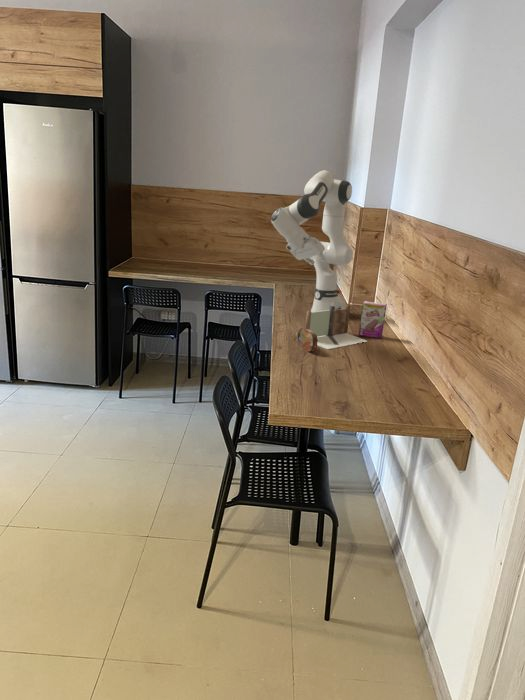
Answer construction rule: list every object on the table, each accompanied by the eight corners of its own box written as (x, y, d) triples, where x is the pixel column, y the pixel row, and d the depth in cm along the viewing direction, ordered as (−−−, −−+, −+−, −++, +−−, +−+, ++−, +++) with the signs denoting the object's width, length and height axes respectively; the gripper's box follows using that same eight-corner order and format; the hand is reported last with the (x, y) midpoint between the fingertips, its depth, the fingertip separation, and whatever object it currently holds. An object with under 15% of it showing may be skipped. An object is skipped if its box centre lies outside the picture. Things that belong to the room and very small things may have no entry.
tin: (296, 343, 239) (298, 325, 236) (302, 343, 240) (304, 325, 237) (311, 354, 225) (312, 335, 223) (317, 354, 227) (319, 335, 224)
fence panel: (325, 333, 253) (328, 308, 249) (328, 335, 251) (331, 309, 247) (303, 337, 244) (306, 311, 241) (306, 338, 243) (308, 312, 239)
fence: (344, 331, 261) (347, 303, 256) (348, 332, 259) (351, 304, 254) (325, 334, 253) (328, 306, 249) (329, 336, 251) (332, 307, 247)
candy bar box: (358, 336, 256) (362, 302, 251) (359, 333, 261) (363, 300, 256) (381, 339, 254) (386, 305, 249) (382, 336, 258) (387, 303, 253)
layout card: (337, 330, 263) (337, 329, 263) (367, 341, 248) (367, 340, 248) (297, 337, 248) (297, 336, 248) (327, 349, 233) (327, 348, 233)
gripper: (315, 230, 228) (335, 253, 233) (291, 239, 247) (310, 260, 251) (306, 240, 226) (327, 263, 231) (283, 248, 245) (303, 270, 249)
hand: (318, 262), depth 241 cm, fingers open, 8 cm apart
